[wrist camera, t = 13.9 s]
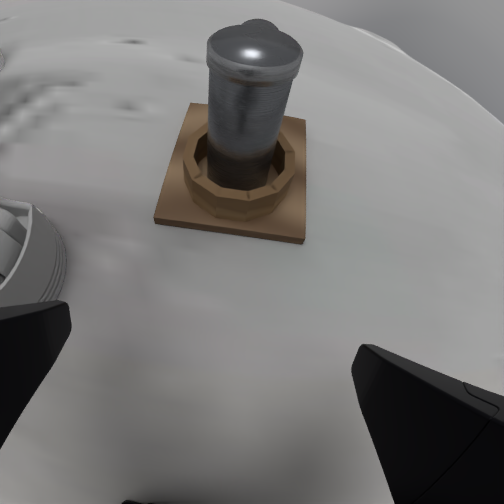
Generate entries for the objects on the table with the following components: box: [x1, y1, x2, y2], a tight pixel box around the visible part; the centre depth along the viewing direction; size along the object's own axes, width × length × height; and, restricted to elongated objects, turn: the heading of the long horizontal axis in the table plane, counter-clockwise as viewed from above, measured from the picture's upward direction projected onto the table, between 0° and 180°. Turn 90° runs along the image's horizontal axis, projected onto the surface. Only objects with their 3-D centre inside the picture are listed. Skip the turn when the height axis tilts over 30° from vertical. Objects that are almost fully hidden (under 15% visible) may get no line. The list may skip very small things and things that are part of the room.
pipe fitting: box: [206, 19, 303, 191], centre depth 21 cm, size 8×5×13 cm
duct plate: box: [153, 103, 306, 244], centre depth 27 cm, size 14×12×4 cm
